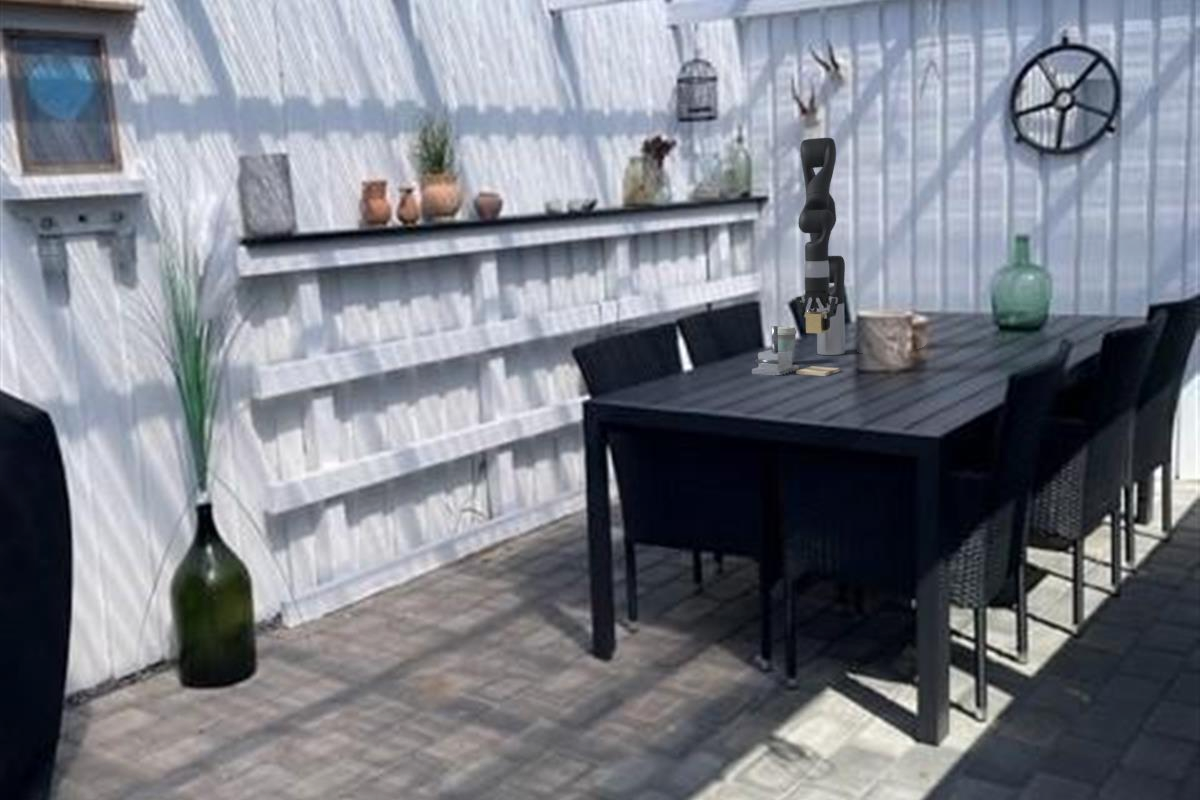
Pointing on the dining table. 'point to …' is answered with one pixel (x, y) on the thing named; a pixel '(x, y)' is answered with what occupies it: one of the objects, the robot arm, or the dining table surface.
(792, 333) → the coffee cup
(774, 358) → the block
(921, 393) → the dining table surface
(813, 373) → the beige pad
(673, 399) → the dining table surface
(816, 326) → the collar
